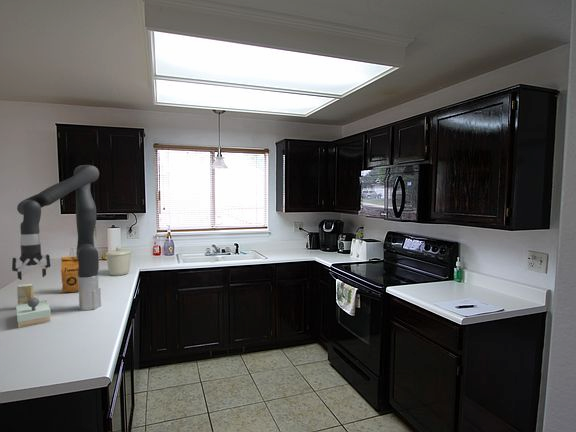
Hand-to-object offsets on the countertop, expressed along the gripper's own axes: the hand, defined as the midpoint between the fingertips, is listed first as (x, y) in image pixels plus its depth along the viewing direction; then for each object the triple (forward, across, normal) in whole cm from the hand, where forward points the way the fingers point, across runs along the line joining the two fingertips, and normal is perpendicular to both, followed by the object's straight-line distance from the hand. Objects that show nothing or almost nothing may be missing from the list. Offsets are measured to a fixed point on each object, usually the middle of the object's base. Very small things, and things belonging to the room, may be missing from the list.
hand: (32, 278), depth 161 cm
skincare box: (+22, +2, -30) cm, 37 cm away
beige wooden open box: (+21, 0, -6) cm, 22 cm away
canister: (+21, -56, -82) cm, 101 cm away
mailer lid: (+18, 0, -5) cm, 19 cm away
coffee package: (+21, -23, -50) cm, 59 cm away
